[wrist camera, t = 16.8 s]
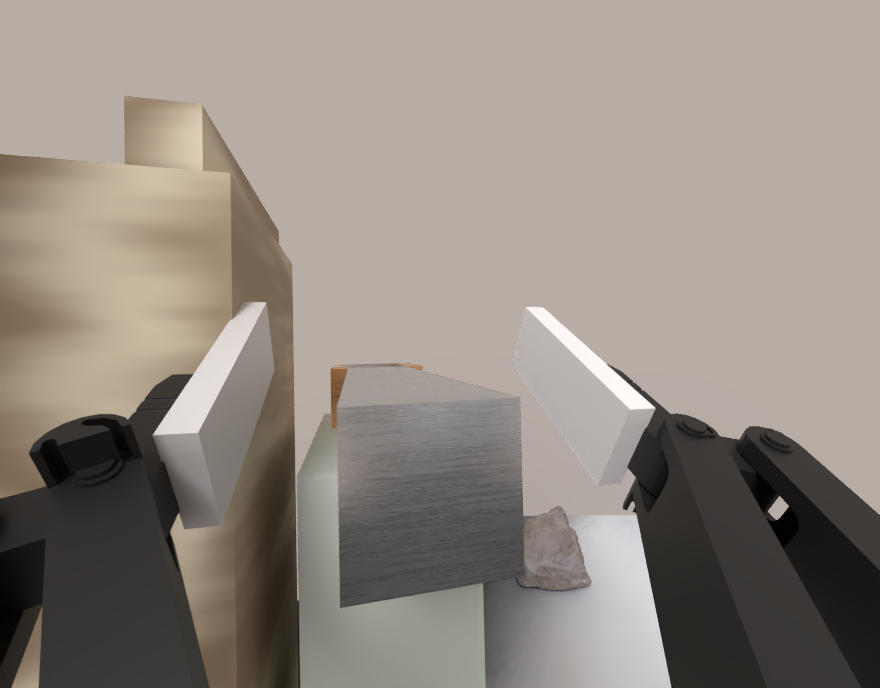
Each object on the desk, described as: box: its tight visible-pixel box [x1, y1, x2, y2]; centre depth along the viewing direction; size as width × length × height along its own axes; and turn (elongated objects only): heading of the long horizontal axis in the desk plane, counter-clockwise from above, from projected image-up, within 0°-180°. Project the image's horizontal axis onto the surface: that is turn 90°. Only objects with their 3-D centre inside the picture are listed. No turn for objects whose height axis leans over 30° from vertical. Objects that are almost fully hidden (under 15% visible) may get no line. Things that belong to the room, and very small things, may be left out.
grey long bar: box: [331, 363, 525, 608], centre depth 18 cm, size 6×22×4 cm, turn 13°
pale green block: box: [297, 414, 485, 688], centre depth 21 cm, size 7×14×20 cm, turn 13°
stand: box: [0, 96, 298, 688], centre depth 16 cm, size 12×12×32 cm
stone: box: [517, 506, 591, 590], centre depth 41 cm, size 10×8×6 cm
